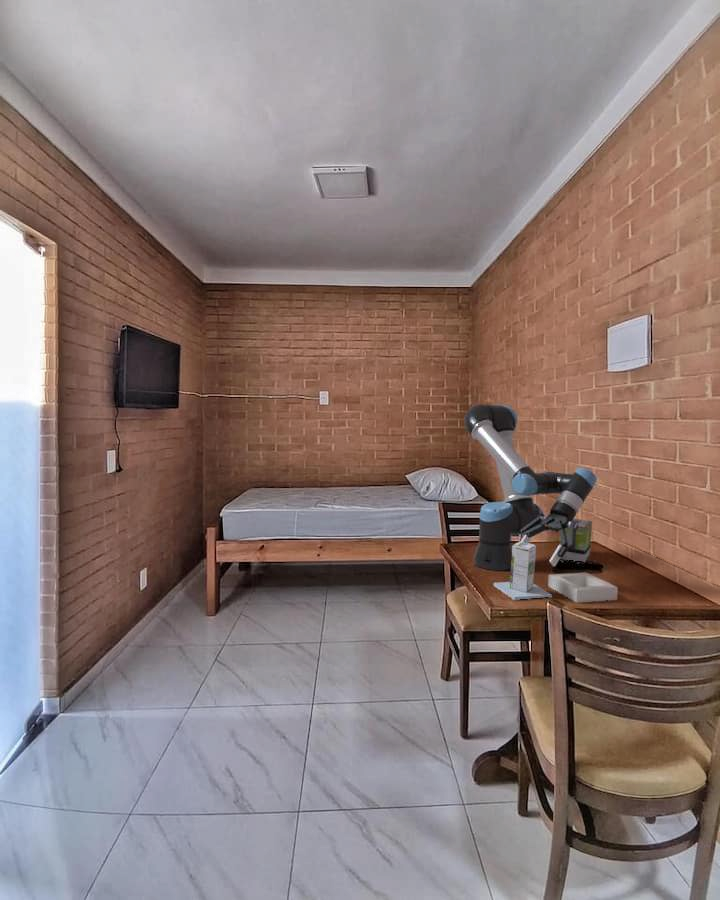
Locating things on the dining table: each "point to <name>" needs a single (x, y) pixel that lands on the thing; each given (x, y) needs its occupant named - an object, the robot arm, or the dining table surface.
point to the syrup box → (522, 566)
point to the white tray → (582, 587)
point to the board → (517, 595)
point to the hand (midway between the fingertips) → (534, 558)
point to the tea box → (580, 541)
